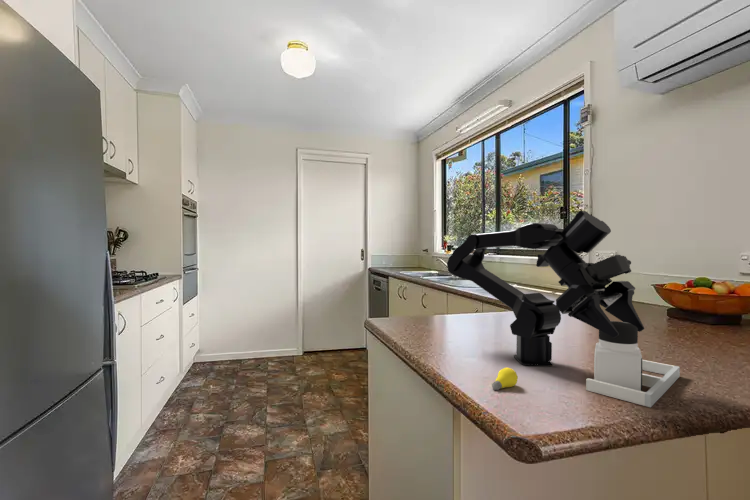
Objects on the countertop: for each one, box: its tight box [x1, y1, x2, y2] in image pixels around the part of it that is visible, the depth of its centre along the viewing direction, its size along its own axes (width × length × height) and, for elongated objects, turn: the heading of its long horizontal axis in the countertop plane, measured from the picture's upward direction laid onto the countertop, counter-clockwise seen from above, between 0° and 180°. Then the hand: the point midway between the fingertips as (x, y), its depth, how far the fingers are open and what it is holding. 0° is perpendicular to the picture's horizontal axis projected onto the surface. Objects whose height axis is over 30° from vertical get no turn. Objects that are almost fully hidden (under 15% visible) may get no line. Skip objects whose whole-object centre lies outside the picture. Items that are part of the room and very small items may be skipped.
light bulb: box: [491, 367, 519, 391], centre depth 69 cm, size 3×6×4 cm, turn 124°
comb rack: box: [585, 359, 681, 408], centre depth 71 cm, size 22×10×2 cm, turn 131°
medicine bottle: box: [593, 320, 643, 392], centre depth 69 cm, size 7×7×12 cm
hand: (629, 333), depth 67 cm, fingers open, 9 cm apart
